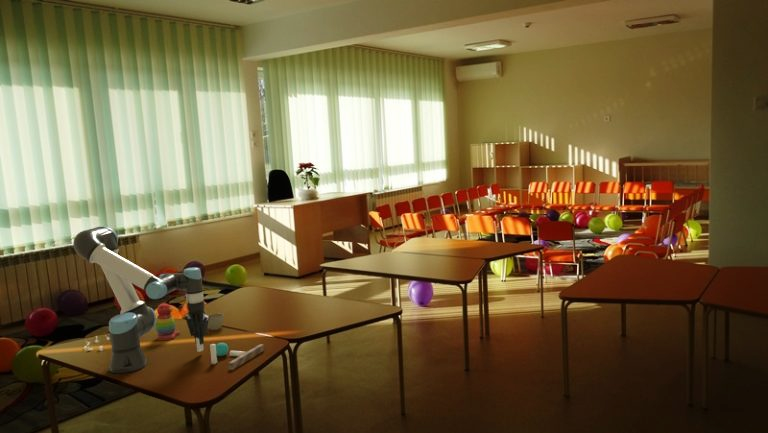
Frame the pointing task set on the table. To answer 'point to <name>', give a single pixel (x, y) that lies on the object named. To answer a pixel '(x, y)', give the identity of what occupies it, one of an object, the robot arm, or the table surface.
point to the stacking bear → (165, 323)
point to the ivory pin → (236, 353)
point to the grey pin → (213, 353)
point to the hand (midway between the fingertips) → (200, 350)
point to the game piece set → (92, 348)
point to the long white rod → (246, 357)
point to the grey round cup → (215, 321)
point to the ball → (221, 349)
